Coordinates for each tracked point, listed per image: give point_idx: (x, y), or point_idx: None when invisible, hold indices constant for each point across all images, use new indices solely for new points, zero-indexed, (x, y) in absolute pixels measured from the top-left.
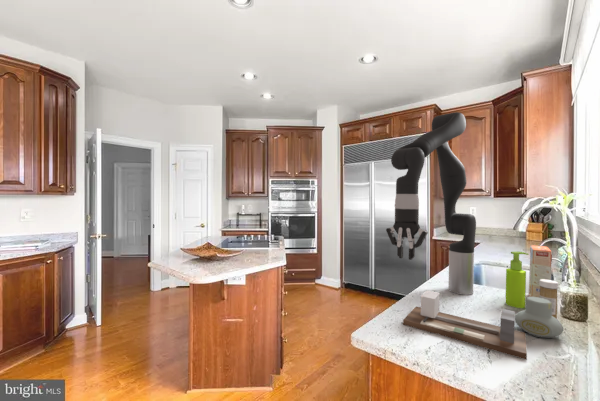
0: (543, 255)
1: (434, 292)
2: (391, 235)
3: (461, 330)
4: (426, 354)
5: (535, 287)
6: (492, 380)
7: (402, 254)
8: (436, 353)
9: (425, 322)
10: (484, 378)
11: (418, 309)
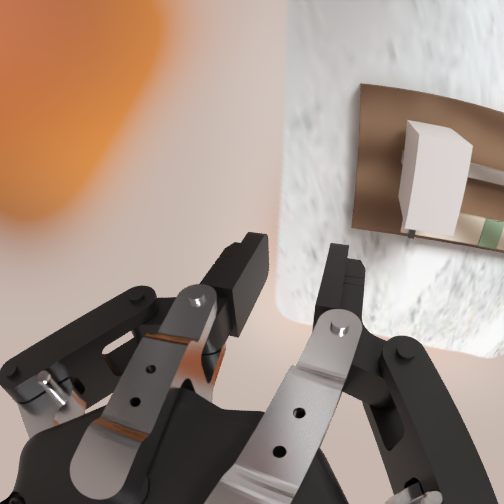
0: None
1: (453, 148)
2: (103, 393)
3: (497, 232)
4: (412, 323)
5: None
6: (492, 340)
7: (258, 261)
8: (430, 313)
9: None
10: (484, 341)
11: (377, 111)
